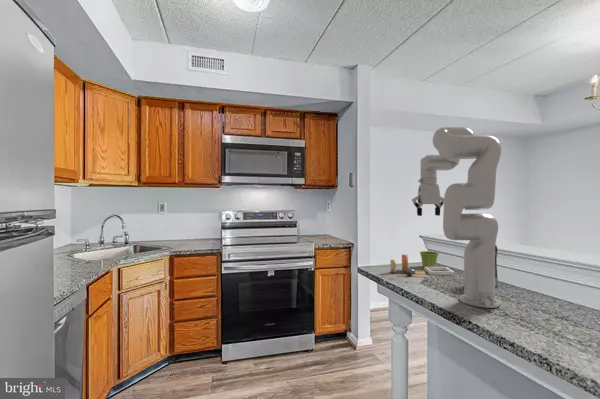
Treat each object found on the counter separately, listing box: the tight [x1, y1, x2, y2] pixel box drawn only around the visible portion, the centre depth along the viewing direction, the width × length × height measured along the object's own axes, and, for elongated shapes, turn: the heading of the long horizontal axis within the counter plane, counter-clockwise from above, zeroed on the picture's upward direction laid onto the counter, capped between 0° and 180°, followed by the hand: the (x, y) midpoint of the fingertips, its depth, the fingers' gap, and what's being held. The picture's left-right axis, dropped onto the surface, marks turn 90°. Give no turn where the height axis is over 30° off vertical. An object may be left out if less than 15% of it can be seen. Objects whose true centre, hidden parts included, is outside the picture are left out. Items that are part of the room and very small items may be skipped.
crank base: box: [395, 269, 430, 279], centre depth 147 cm, size 14×14×3 cm
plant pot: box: [419, 250, 439, 268], centre depth 161 cm, size 9×9×9 cm
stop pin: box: [401, 254, 409, 270], centre depth 152 cm, size 3×3×8 cm
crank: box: [390, 259, 416, 274], centre depth 147 cm, size 11×4×6 cm, turn 82°
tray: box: [423, 266, 456, 278], centre depth 149 cm, size 11×11×2 cm
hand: (428, 215), depth 153 cm, fingers open, 9 cm apart
